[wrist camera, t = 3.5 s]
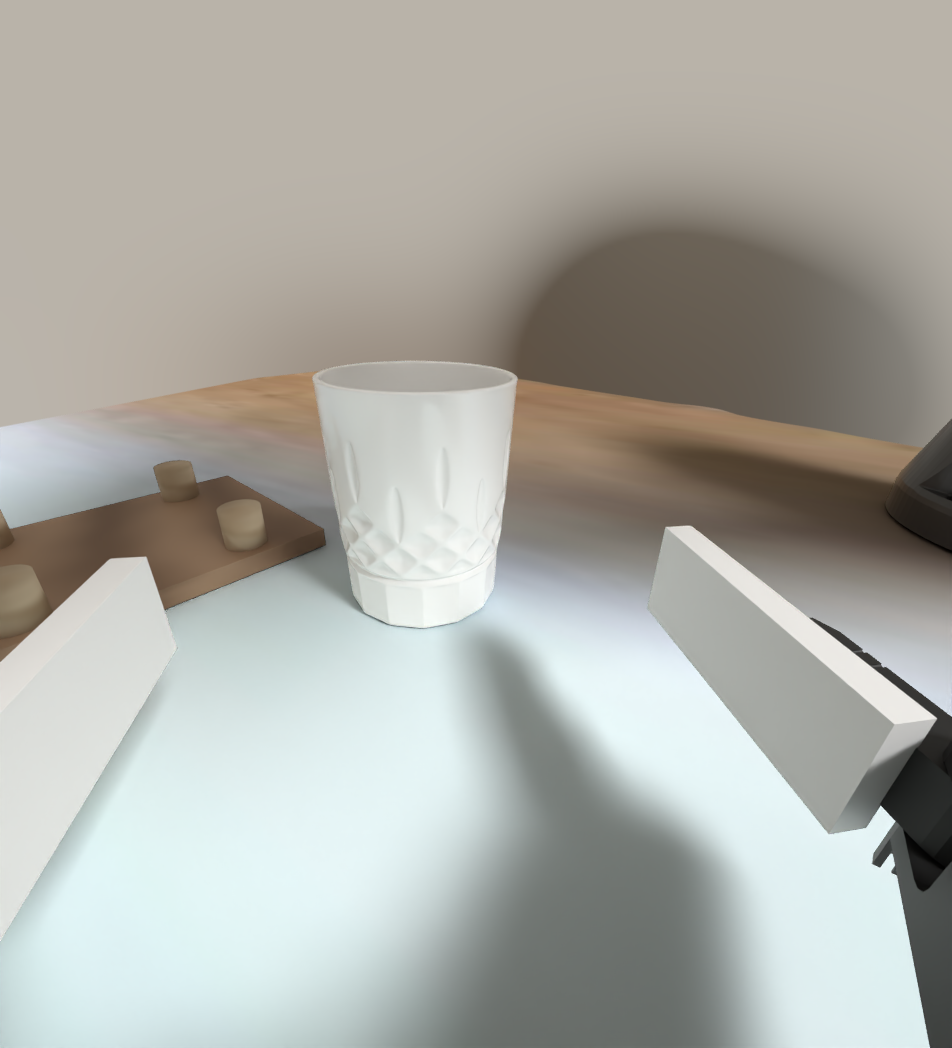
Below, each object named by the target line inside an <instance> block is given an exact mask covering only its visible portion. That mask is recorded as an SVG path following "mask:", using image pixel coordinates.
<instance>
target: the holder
mask: <svg viewBox="0 0 952 1048" xmlns="http://www.w3.org/2000/svg"><path fill="white" fill-rule="evenodd" d="M153 469H154V472H155V476H156V479H157V482H158V486H159V489H160V492H159V493H155V494H151V495H147V496H143V497H139V498H135V499H131V500H127V501H123V502H119V503H115V504H110V505H106V506H102V507H98V508H94V509H90V510H86V511H82V512H78V513H74V514H70V515H66V516H62V517H58V518H54V519H49V520H45V521H41V522H37V523H33V524H29V525H25V526H21V527H17V528H13V529H9V527H8V525H7V523H6V520H5V518H4V516H3V514H2V512H1V510H0V662H1V661H2V660H3V659H4V658H5V657H6V656H7V655H8V654H9V653H11V652H12V651H13V650H14V649H15V648H16V647H17V646H18V645H19V644H20V643H21V642H22V641H23V640H24V639H25V638H26V637H27V636H29V635H30V634H31V633H32V632H33V631H34V630H35V629H36V628H37V627H38V626H39V625H40V624H41V623H42V622H43V621H44V620H46V619H47V618H48V617H49V616H50V615H51V614H52V613H53V612H54V611H55V610H56V609H57V608H58V607H59V606H60V605H61V604H62V603H64V602H65V601H66V600H67V599H68V598H69V597H70V596H71V595H72V594H73V593H74V592H75V591H76V590H77V589H78V588H79V587H80V586H82V585H83V584H84V583H85V582H86V581H87V580H88V579H89V578H90V577H91V576H92V575H93V574H94V573H95V572H96V571H97V570H98V569H100V568H101V567H102V566H103V565H104V564H105V563H106V562H107V561H108V560H109V559H113V558H130V557H147V560H148V563H149V566H150V569H151V572H152V575H153V578H154V581H155V584H156V587H157V590H158V593H159V596H160V599H161V601H162V604H163V607H164V610H165V609H167V608H170V607H172V606H175V605H177V604H180V603H182V602H185V601H187V600H190V599H192V598H195V597H197V596H200V595H202V594H205V593H207V592H210V591H212V590H215V589H217V588H220V587H222V586H225V585H227V584H230V583H232V582H235V581H237V580H240V579H242V578H245V577H247V576H249V575H252V574H254V573H257V572H259V571H262V570H264V569H267V568H269V567H272V566H274V565H277V564H279V563H282V562H284V561H287V560H289V559H292V558H294V557H297V556H299V555H302V554H304V553H307V552H309V551H312V550H314V549H317V548H319V547H322V546H324V545H326V543H325V536H324V529H323V528H321V527H319V526H317V525H315V524H314V523H312V522H310V521H308V520H306V519H305V518H303V517H301V516H299V515H297V514H296V513H294V512H292V511H290V510H288V509H287V508H285V507H283V506H281V505H279V504H278V503H276V502H274V501H272V500H271V499H269V498H267V497H265V496H263V495H262V494H260V493H258V492H256V491H254V490H253V489H251V488H249V487H247V486H245V485H244V484H242V483H240V482H238V481H236V480H235V479H233V478H231V477H229V476H224V477H220V478H216V479H212V480H208V481H204V482H200V483H196V479H195V475H194V472H193V468H192V464H191V462H189V461H183V460H178V461H169V462H164V463H161V464H158V465H156V466H154V468H153Z"/></svg>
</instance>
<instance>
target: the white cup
mask: <svg viewBox="0 0 952 1048" xmlns="http://www.w3.org/2000/svg"><path fill="white" fill-rule="evenodd" d="M312 380H313V385H314V391H315V396H316V402H317V407H318V413H319V419H320V424H321V430H322V436H323V442H324V448H325V453H326V459H327V465H328V471H329V477H330V483H331V488H332V494H333V499H334V504H335V508H336V512H337V515H338V521H339V529H340V534H341V538H342V542H343V545H344V548H345V551H346V554H347V561H348V567H349V573H350V580H351V586H352V592H353V595H354V597H355V598H356V600H357V601H358V603H359V605H360V606H361V608H362V609H363V611H364V612H365V613H367V614H369V615H371V616H373V617H375V618H377V619H379V620H381V621H383V622H385V623H387V624H389V625H396V626H405V627H415V628H429V627H434V626H440V625H445V624H450V623H455V622H458V621H460V620H462V619H464V618H465V617H467V616H469V615H471V614H472V613H474V612H476V611H477V610H479V609H481V608H482V607H483V606H484V604H485V602H486V601H487V599H488V597H489V596H490V594H491V592H492V591H493V588H494V579H495V568H496V556H497V545H498V542H499V538H500V533H501V528H502V518H503V506H504V501H505V496H506V488H507V478H508V467H509V457H510V447H511V437H512V426H513V417H514V407H515V398H516V388H517V377H516V376H515V375H514V374H513V373H511V372H509V371H506V370H503V369H499V368H495V367H489V366H484V365H476V364H468V363H456V362H440V361H387V362H369V363H358V364H350V365H343V366H337V367H332V368H328V369H325V370H322V371H319V372H317V373H316V374H314V376H313V378H312Z"/></svg>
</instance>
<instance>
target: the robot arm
mask: <svg viewBox="0 0 952 1048" xmlns="http://www.w3.org/2000/svg"><path fill="white" fill-rule="evenodd" d="M885 506H886V509H887V511H888V512H889V513H890V515H891V516H892V517H893V518H894V519H896V520H897V521H898V522H899V523H901V524H902V525H904V526H905V527H907V528H908V529H910V530H911V531H913V532H915V533H917V534H918V535H920V536H922V537H924V538H926V539H928V540H930V541H932V542H934V543H936V544H938V545H940V546H942V547H945V548H947V549H949V550H952V419H951V420H950V421H949V422H948V423H947V424H946V425H945V426H944V427H943V428H942V429H941V430H940V431H939V432H938V433H937V435H936V436H935V437H934V438H933V439H932V440H931V441H930V442H929V443H928V444H927V445H926V446H925V447H924V448H923V449H922V450H921V451H920V452H919V453H918V454H917V455H916V456H915V457H914V458H913V459H912V460H911V461H910V463H909V464H908V465H907V466H906V467H905V468H904V469H903V470H902V471H901V472H900V474H899V475H898V477H897V478H896V481H895V483H894V485H893V487H892V489H891V492H890V494H889V496H888V498H887V500H886V503H885ZM647 609H648V610H649V611H650V612H651V614H652V615H653V616H654V617H655V619H656V620H657V621H658V622H659V624H660V625H661V626H662V627H663V629H664V630H665V631H666V632H667V634H668V635H669V636H670V637H671V639H672V640H673V641H674V642H675V644H676V645H677V646H678V647H679V649H680V650H681V651H682V652H683V654H684V655H685V656H686V657H687V658H688V660H689V661H690V662H691V663H692V665H693V666H694V667H695V668H696V670H697V671H698V672H699V673H700V675H701V676H702V677H703V678H704V680H705V681H706V682H707V683H708V685H709V686H710V687H711V688H712V690H713V691H714V692H715V693H716V695H717V696H718V697H719V698H720V700H721V701H722V702H723V703H724V704H725V706H726V707H727V708H728V709H729V711H730V712H731V713H732V714H733V716H734V717H735V718H736V719H737V721H738V722H739V723H740V724H741V726H742V727H743V728H744V729H745V731H746V732H747V733H748V734H749V736H750V737H751V738H752V739H753V741H754V742H755V743H756V744H757V746H758V747H759V748H760V749H761V751H762V752H763V753H764V754H765V755H766V757H767V758H768V759H769V760H770V762H771V763H772V764H773V765H774V767H775V768H776V769H777V770H778V772H779V773H780V774H781V775H782V777H783V778H784V779H785V780H786V782H787V783H788V784H789V785H790V787H791V788H792V789H793V790H794V792H795V793H796V794H797V795H798V797H799V798H800V799H801V800H802V801H803V803H804V804H805V805H806V806H807V808H808V809H809V810H810V811H811V813H812V814H813V815H814V816H815V818H816V819H817V820H818V821H819V823H820V824H821V825H822V826H823V828H824V829H825V830H826V831H827V833H828V834H833V833H839V832H845V831H850V830H856V829H862V828H866V827H867V826H868V824H869V823H870V821H871V819H872V818H873V816H874V815H875V813H876V812H877V810H878V809H879V807H880V806H882V807H883V808H884V809H885V810H886V811H887V812H888V814H889V815H890V816H891V817H892V818H893V819H894V820H895V821H896V822H895V823H894V825H893V826H892V828H891V829H890V830H889V832H888V833H887V835H886V836H885V838H884V839H883V841H882V842H881V843H880V845H879V846H878V848H877V849H876V851H875V852H874V854H873V862H872V864H874V865H876V866H878V867H881V866H882V864H883V863H884V861H885V860H886V859H887V857H888V856H889V854H890V853H892V854H893V857H894V862H895V867H894V868H893V869H892V872H891V873H893V874H895V875H897V878H898V883H899V888H900V893H901V898H902V904H903V909H904V914H905V919H906V925H907V930H908V935H909V940H910V945H911V951H912V956H913V961H914V966H915V972H916V977H917V982H918V987H919V992H920V998H921V1003H922V1008H923V1013H924V1019H925V1024H926V1029H927V1034H928V1039H929V1045H930V1048H952V717H951V716H950V715H948V714H947V713H946V712H944V711H943V710H942V709H941V708H939V707H938V706H937V705H935V704H934V703H933V702H931V701H930V700H929V699H927V698H926V697H925V696H923V695H922V694H921V693H919V692H918V691H917V690H916V689H914V688H913V687H912V686H910V685H909V684H908V683H906V682H905V681H904V680H902V679H901V678H900V677H898V676H897V675H896V674H895V673H893V672H892V671H891V670H889V669H888V668H887V667H884V668H883V667H882V666H881V663H880V662H879V661H877V660H876V659H875V658H873V657H872V656H871V655H870V654H868V653H863V651H862V648H860V647H859V646H858V645H856V644H855V643H854V642H852V641H851V640H850V639H848V638H847V637H846V636H845V635H843V634H842V633H841V632H839V631H837V630H835V629H833V628H831V627H829V626H827V625H825V624H823V623H821V622H820V621H818V620H816V619H814V618H808V617H807V616H806V615H804V614H803V613H802V612H801V611H799V610H798V609H797V608H795V607H794V606H793V605H792V604H790V603H789V602H788V601H787V600H785V599H784V598H783V597H781V596H780V595H779V594H778V593H776V592H775V591H774V590H773V589H771V588H770V587H769V586H767V585H766V584H765V583H764V582H762V581H761V580H760V579H758V578H757V577H756V576H755V575H753V574H752V573H751V572H750V571H748V570H747V569H746V568H744V567H743V566H742V565H741V564H739V563H738V562H737V561H735V560H734V559H733V558H732V557H730V556H729V555H728V554H727V553H725V552H724V551H723V550H721V549H720V548H719V547H718V546H716V545H715V544H714V543H713V542H711V541H710V540H709V539H707V538H706V537H705V536H704V535H702V534H701V533H700V532H698V531H697V530H696V529H695V528H693V527H692V526H674V527H665V532H664V536H663V540H662V545H661V549H660V554H659V558H658V562H657V567H656V571H655V576H654V580H653V584H652V589H651V593H650V598H649V602H648V606H647ZM176 650H177V646H176V643H175V640H174V637H173V634H172V631H171V628H170V625H169V622H168V619H167V616H166V613H165V610H164V607H163V604H162V601H161V599H160V596H159V593H158V590H157V587H156V584H155V581H154V578H153V575H152V572H151V569H150V566H149V563H148V560H147V557H130V558H113V559H109V560H108V561H107V562H106V563H105V564H104V565H103V566H102V567H101V568H100V569H98V570H97V571H96V572H95V573H94V574H93V575H92V576H91V577H90V578H89V579H88V580H87V581H86V582H85V583H84V584H83V585H82V586H80V587H79V588H78V589H77V590H76V591H75V592H74V593H73V594H72V595H71V596H70V597H69V598H68V599H67V600H66V601H65V602H64V603H62V604H61V605H60V606H59V607H58V608H57V609H56V610H55V611H54V612H53V613H52V614H51V615H50V616H49V617H48V618H47V619H46V620H44V621H43V622H42V623H41V624H40V625H39V626H38V627H37V628H36V629H35V630H34V631H33V632H32V633H31V634H30V635H29V636H27V637H26V638H25V639H24V640H23V641H22V642H21V643H20V644H19V645H18V646H17V647H16V648H15V649H14V650H13V651H12V652H11V653H9V654H8V655H7V656H6V657H5V658H4V659H3V660H2V661H1V662H0V941H1V939H2V938H3V936H4V934H5V933H6V931H7V929H8V928H9V926H10V924H11V923H12V921H13V919H14V918H15V916H16V914H17V913H18V911H19V909H20V908H21V906H22V905H23V903H24V901H25V900H26V898H27V896H28V895H29V893H30V891H31V890H32V888H33V886H34V885H35V883H36V881H37V880H38V878H39V876H40V875H41V873H42V871H43V870H44V868H45V866H46V865H47V863H48V862H49V860H50V858H51V857H52V855H53V853H54V852H55V850H56V848H57V847H58V845H59V843H60V842H61V840H62V838H63V837H64V835H65V833H66V832H67V830H68V828H69V827H70V825H71V823H72V822H73V820H74V818H75V817H76V815H77V814H78V812H79V810H80V809H81V807H82V805H83V804H84V802H85V800H86V799H87V797H88V795H89V794H90V792H91V790H92V789H93V787H94V785H95V784H96V782H97V780H98V779H99V777H100V775H101V774H102V772H103V770H104V769H105V767H106V766H107V764H108V762H109V761H110V759H111V757H112V756H113V754H114V752H115V751H116V749H117V747H118V746H119V744H120V742H121V741H122V739H123V737H124V736H125V734H126V732H127V731H128V729H129V727H130V726H131V724H132V722H133V721H134V719H135V718H136V716H137V714H138V713H139V711H140V709H141V708H142V706H143V704H144V703H145V701H146V699H147V698H148V696H149V694H150V693H151V691H152V689H153V688H154V686H155V684H156V683H157V681H158V679H159V678H160V676H161V674H162V673H163V671H164V670H165V668H166V666H167V665H168V663H169V661H170V660H171V658H172V656H173V655H174V653H175V651H176Z"/></svg>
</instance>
